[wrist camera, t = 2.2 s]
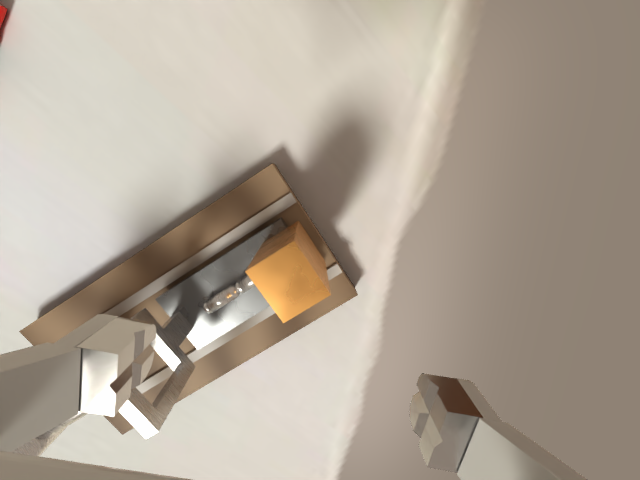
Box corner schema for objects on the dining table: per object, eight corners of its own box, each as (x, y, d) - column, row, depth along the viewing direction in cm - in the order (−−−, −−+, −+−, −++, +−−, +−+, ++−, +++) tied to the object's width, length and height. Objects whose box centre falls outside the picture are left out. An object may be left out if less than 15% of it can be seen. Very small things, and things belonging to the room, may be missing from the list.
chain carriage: (202, 343, 24) (144, 439, 15) (160, 292, 23) (72, 366, 14) (330, 265, 23) (342, 323, 14) (292, 208, 21) (281, 233, 13)
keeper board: (132, 420, 27) (120, 437, 26) (36, 322, 25) (15, 333, 23) (354, 287, 25) (358, 296, 23) (274, 163, 23) (271, 163, 21)
